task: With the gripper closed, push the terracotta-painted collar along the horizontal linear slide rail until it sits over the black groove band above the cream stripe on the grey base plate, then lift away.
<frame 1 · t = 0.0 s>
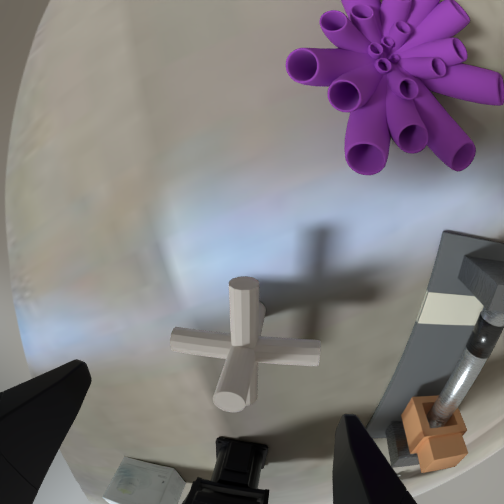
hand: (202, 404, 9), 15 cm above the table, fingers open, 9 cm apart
pipe connector: (255, 308, 24), on the table
grey base plate: (442, 360, 23), on the table
collar: (436, 432, 20), point 5 cm above the table, slide at 0.0 cm
purple tube cluster: (387, 78, 17), on the table
linear slide rail: (452, 380, 20), on the grey base plate
skincare box: (154, 468, 40), on the table
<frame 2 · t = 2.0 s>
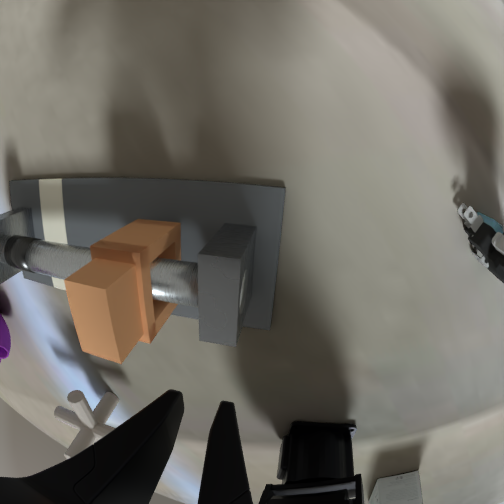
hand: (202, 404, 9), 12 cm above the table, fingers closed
pipe connector: (112, 396, 28), on the table
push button: (479, 233, 17), on the table
grey base plate: (111, 243, 21), on the table
collar: (131, 286, 15), point 6 cm above the table, slide at 0.0 cm
linear slide rail: (87, 258, 18), on the grey base plate
skincare box: (390, 486, 30), on the table
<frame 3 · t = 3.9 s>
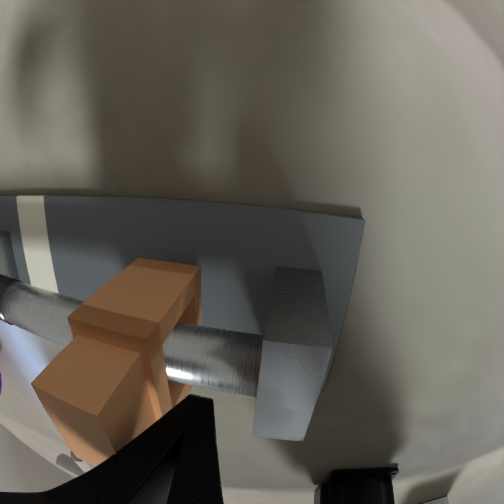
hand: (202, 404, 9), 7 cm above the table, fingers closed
pipe connector: (121, 442, 23), on the table
grey base plate: (112, 283, 16), on the table
collar: (134, 365, 10), point 6 cm above the table, slide at 0.6 cm, touching gripper
linear slide rail: (81, 310, 13), on the grey base plate
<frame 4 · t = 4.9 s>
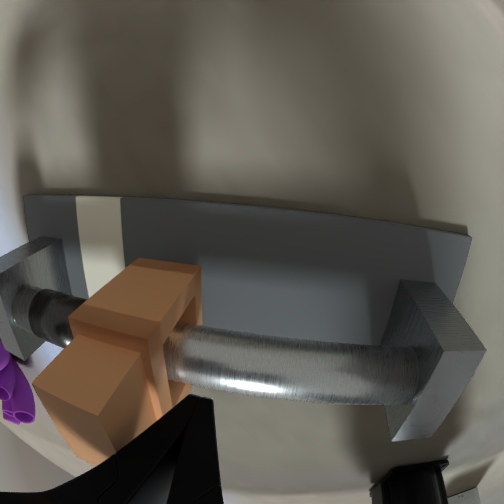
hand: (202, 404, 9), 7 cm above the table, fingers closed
grey base plate: (209, 300, 15), on the table
collar: (135, 364, 10), point 6 cm above the table, slide at 6.4 cm, touching gripper
purple tube cluster: (7, 347, 22), on the table
linear slide rail: (189, 336, 12), on the grey base plate
skincare box: (447, 503, 23), on the table
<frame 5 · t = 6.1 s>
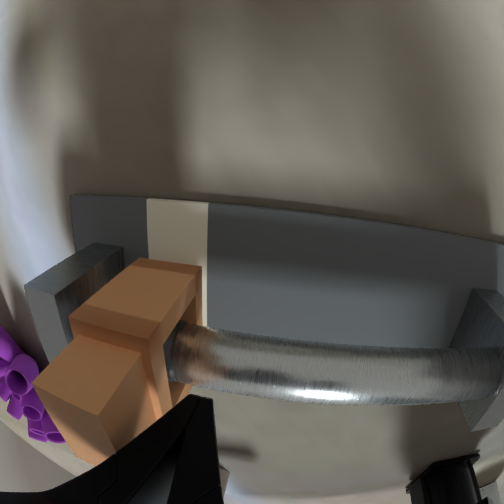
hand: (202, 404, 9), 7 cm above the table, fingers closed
grey base plate: (298, 312, 14), on the table
collar: (135, 364, 10), point 6 cm above the table, slide at 10.9 cm, touching gripper
purple tube cluster: (32, 360, 21), on the table
linear slide rail: (297, 352, 11), on the grey base plate
skincare box: (467, 498, 23), on the table
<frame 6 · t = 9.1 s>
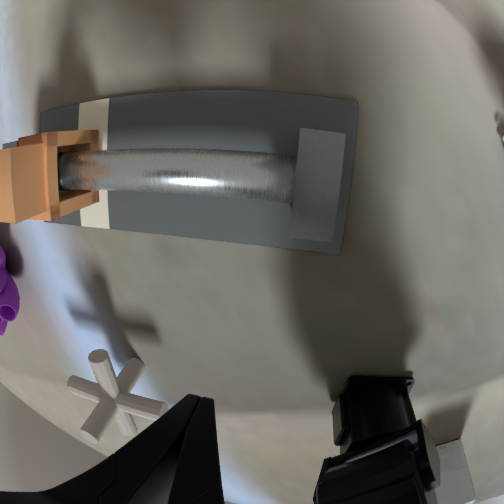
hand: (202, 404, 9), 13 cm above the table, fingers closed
pipe connector: (137, 363, 27), on the table
grey base plate: (162, 163, 19), on the table
collar: (46, 174, 15), point 5 cm above the table, slide at 10.9 cm
purple tube cluster: (4, 263, 26), on the table
linear slide rail: (140, 167, 16), on the grey base plate
skincare box: (430, 460, 28), on the table
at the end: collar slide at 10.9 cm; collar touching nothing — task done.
